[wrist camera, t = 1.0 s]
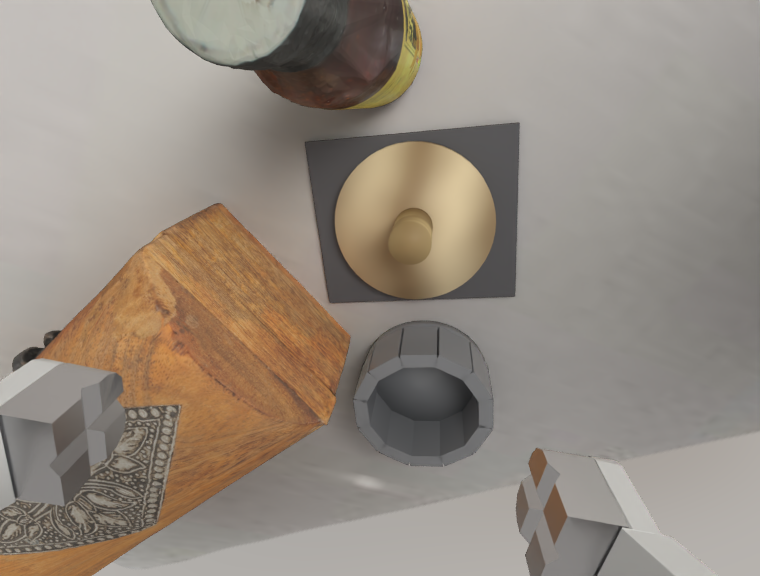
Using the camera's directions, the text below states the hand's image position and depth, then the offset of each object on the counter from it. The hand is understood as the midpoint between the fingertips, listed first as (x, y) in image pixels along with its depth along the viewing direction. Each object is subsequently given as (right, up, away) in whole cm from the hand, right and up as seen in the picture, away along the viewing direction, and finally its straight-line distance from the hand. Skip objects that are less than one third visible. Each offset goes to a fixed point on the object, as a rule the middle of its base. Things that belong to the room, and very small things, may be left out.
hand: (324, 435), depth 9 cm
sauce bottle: (+1, +18, +19) cm, 26 cm away
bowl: (+5, -4, +28) cm, 29 cm away
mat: (+4, +8, +23) cm, 25 cm away
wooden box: (-17, -4, +31) cm, 36 cm away
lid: (+4, +8, +23) cm, 24 cm away
